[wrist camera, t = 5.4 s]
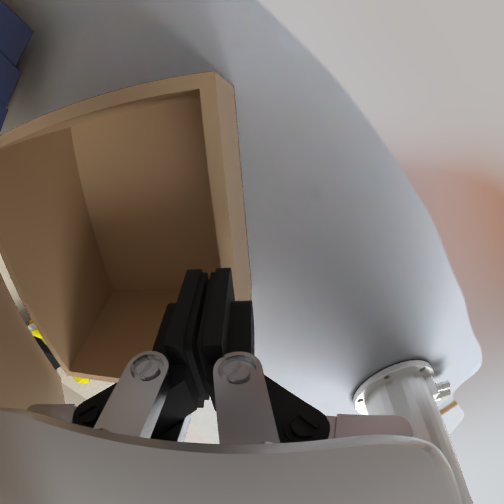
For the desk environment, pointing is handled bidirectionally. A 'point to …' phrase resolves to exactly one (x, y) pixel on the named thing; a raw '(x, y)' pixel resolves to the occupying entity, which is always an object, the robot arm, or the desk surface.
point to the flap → (23, 362)
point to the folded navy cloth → (10, 53)
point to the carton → (121, 214)
